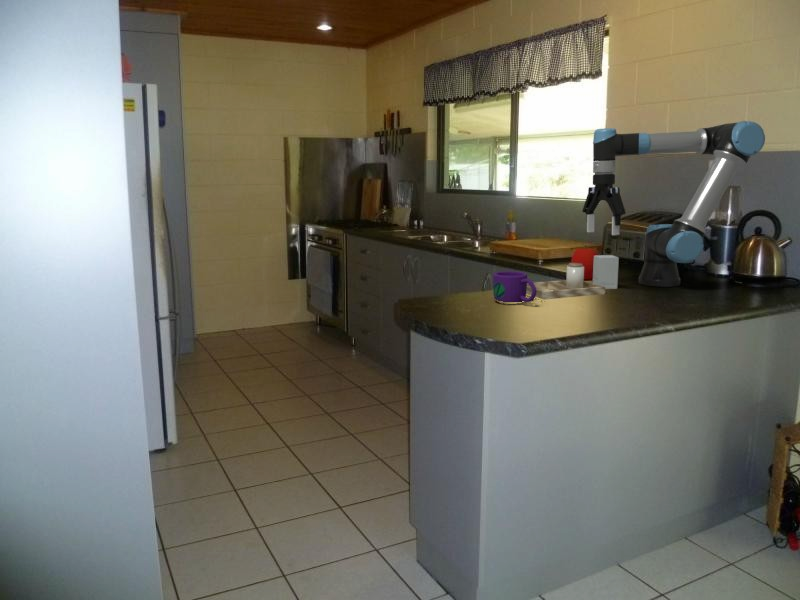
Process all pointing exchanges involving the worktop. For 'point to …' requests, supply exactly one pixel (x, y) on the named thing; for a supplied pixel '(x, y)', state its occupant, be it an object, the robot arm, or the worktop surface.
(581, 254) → the tomato
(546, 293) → the rack
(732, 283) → the worktop surface
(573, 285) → the ceramic jar
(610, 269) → the supplement box
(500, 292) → the mug
